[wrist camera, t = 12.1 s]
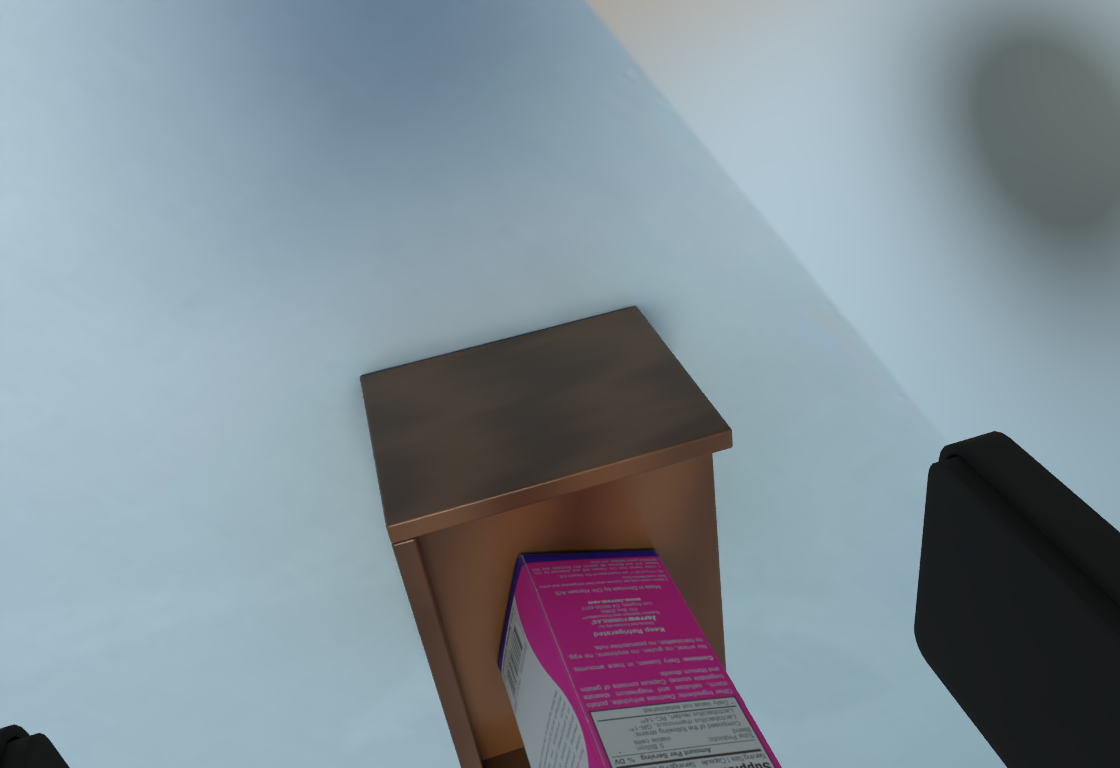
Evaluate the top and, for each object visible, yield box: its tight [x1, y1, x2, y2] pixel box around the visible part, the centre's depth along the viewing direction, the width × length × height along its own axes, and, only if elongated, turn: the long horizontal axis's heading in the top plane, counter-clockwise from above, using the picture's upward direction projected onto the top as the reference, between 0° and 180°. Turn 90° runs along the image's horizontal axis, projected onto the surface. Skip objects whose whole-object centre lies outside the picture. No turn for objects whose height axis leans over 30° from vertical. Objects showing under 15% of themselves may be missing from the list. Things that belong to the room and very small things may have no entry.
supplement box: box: [497, 550, 782, 768], centre depth 33 cm, size 6×6×12 cm
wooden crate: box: [360, 307, 733, 768], centre depth 40 cm, size 12×16×10 cm
